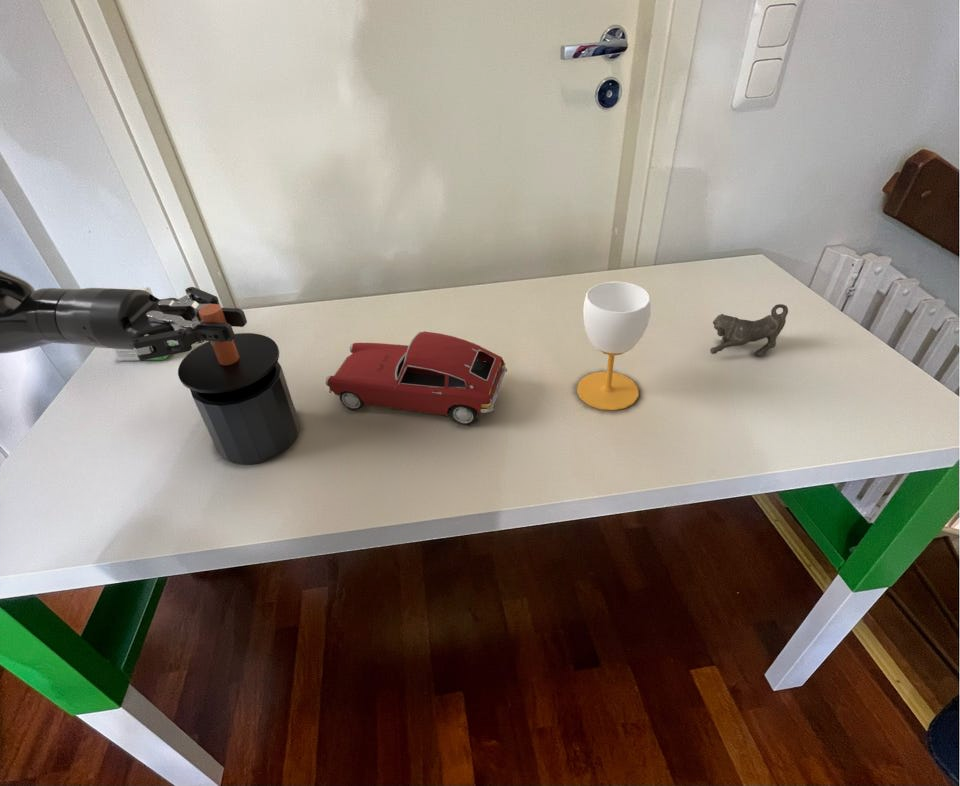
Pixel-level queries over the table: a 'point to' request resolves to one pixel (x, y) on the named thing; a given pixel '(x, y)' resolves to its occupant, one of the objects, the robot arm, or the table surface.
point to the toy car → (421, 377)
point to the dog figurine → (749, 330)
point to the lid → (227, 359)
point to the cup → (613, 340)
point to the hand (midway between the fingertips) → (237, 325)
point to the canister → (251, 419)
